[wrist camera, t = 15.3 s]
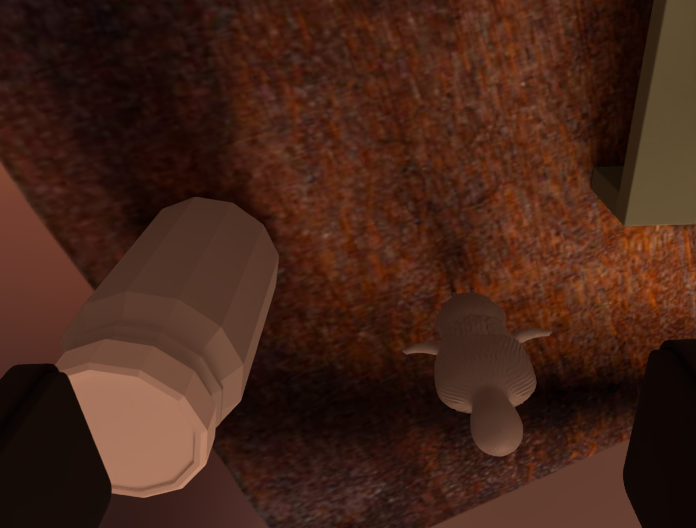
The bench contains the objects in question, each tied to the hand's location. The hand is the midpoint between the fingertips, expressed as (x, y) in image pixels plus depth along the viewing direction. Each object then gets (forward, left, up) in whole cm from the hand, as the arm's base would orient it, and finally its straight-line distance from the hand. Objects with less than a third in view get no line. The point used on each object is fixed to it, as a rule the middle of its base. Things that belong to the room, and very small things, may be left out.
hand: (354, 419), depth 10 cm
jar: (+12, -12, -30) cm, 34 cm away
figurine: (+16, +6, -30) cm, 34 cm away
